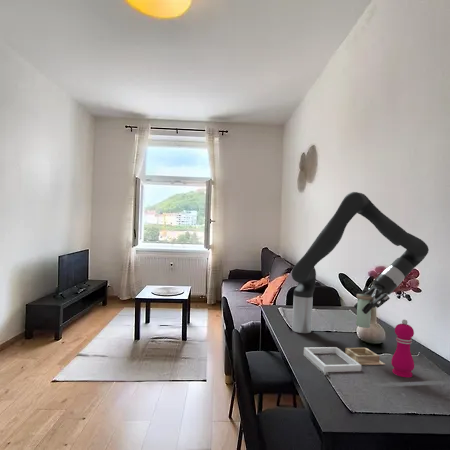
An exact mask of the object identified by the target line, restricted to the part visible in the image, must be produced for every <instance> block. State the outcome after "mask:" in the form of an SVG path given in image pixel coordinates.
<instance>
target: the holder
mask: <svg viewBox="0 0 450 450" xmlns="http://www.w3.org/2000/svg"><path fill="white" fill-rule="evenodd" d="M344 353H345V354H347V355H348V356H349V357H351V358H352V359H354V360H355V361H356V362H358V363H359V364H360V365H361V366H369V365H370V366H373V365H375V366H376V365H377V366H378V365H385V362H383V361H381V360H380V358H381V357H380V355H379V354H377V353H375V352H374V351H372V350H370V349H369V348H367V347H345V348H344Z"/></svg>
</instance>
